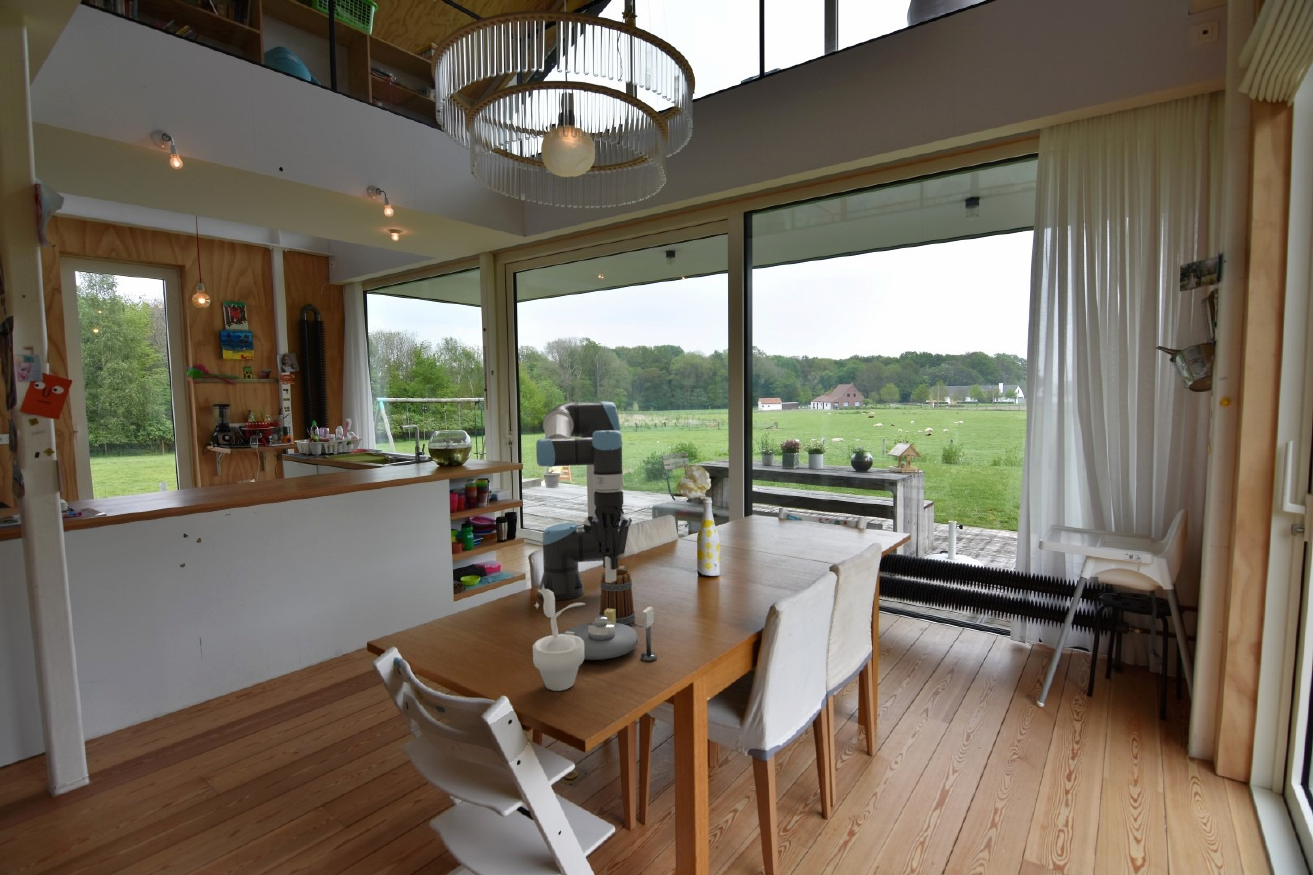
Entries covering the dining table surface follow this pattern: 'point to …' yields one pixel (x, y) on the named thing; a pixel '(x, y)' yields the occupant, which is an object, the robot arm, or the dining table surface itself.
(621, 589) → the mug
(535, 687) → the dining table surface
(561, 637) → the potted plant
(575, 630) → the turntable
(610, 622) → the cover
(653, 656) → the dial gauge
